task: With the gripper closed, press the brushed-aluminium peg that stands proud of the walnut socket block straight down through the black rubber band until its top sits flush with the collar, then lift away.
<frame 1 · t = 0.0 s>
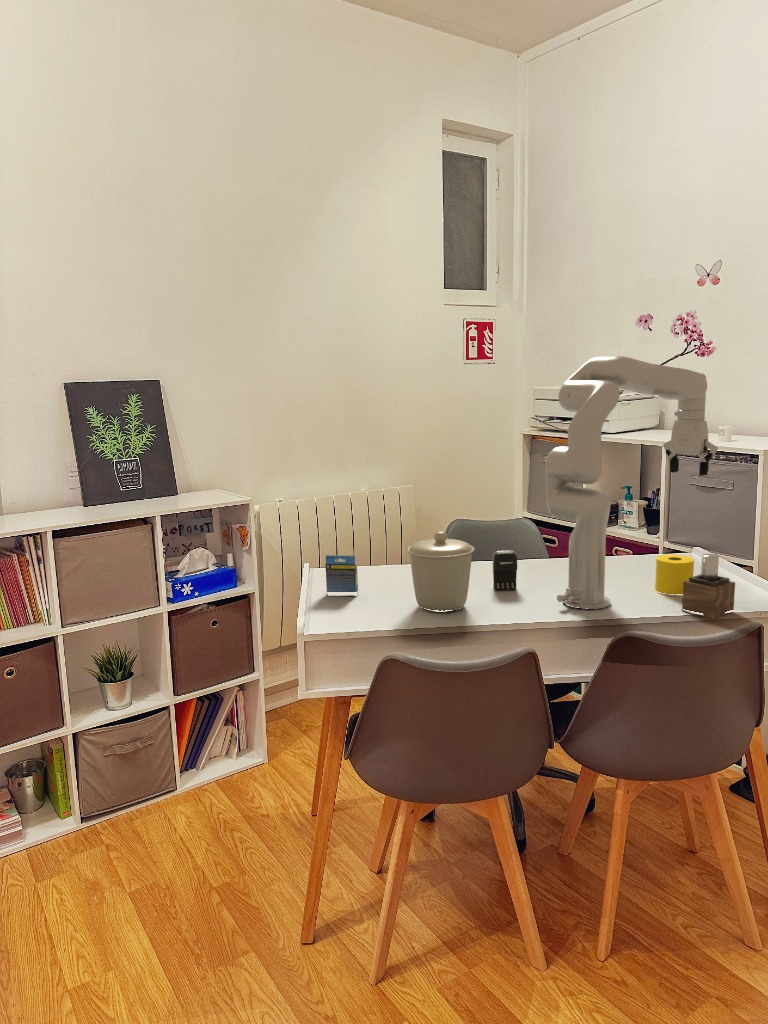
hand: (688, 473, 237), 31 cm above the table, tool pointing down, fingers open, 9 cm apart
battery charger: (505, 590, 232), on the table
peg: (709, 570, 205), point 11 cm above the table, slide at 0.0 cm
tape roll: (673, 591, 227), on the table
socket block: (707, 611, 207), on the table
canister: (441, 608, 217), on the table
label tape box: (342, 595, 232), on the table
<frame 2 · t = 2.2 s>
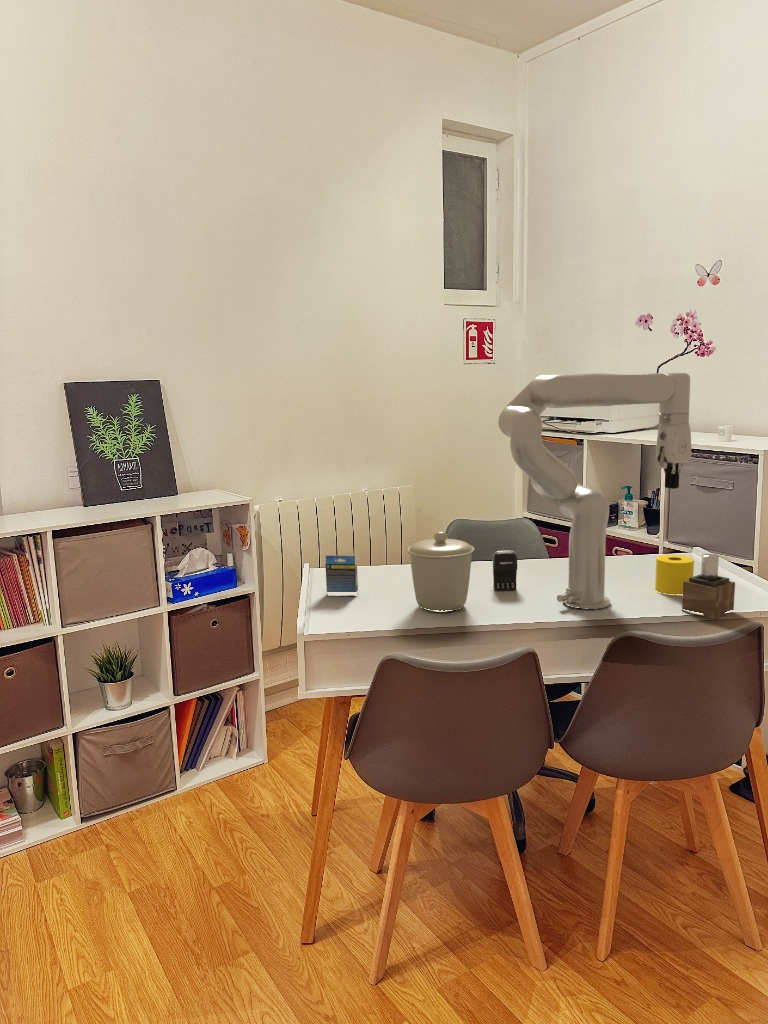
hand: (671, 487, 216), 31 cm above the table, tool pointing down, fingers closed
nothing on the table moved.
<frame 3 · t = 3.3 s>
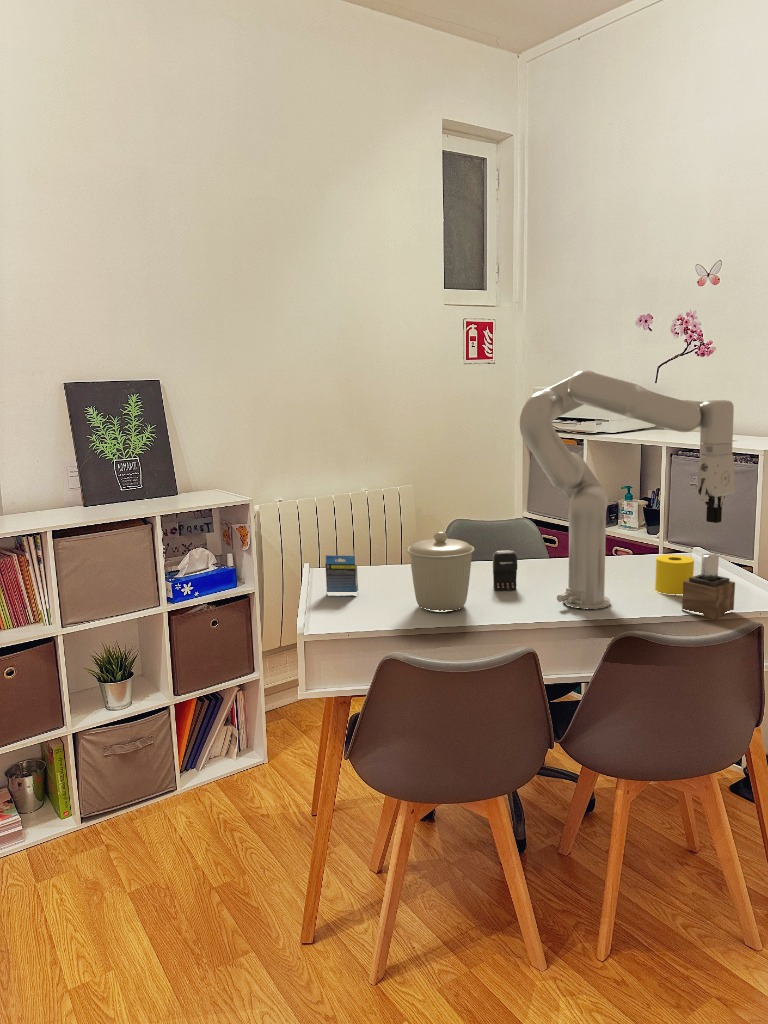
hand: (713, 521, 203), 24 cm above the table, tool pointing down, fingers closed
nothing on the table moved.
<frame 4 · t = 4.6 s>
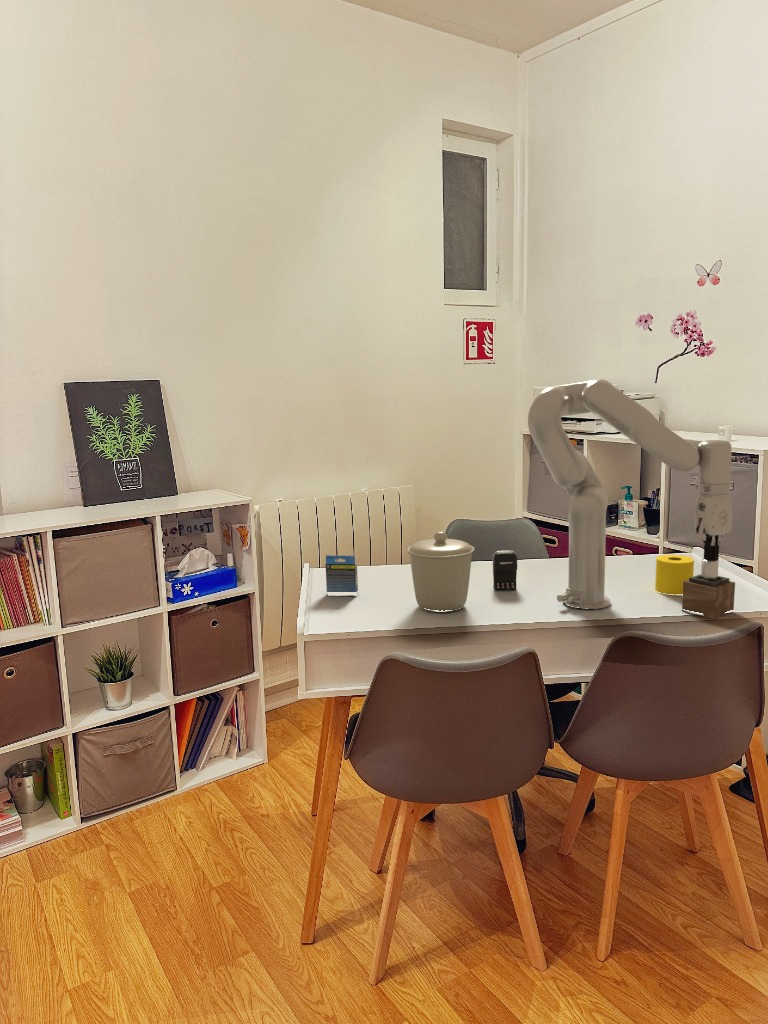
hand: (711, 559, 205), 14 cm above the table, tool pointing down, fingers closed
peg: (709, 574, 206), point 10 cm above the table, slide at 1.2 cm, touching gripper
everything else where it was.
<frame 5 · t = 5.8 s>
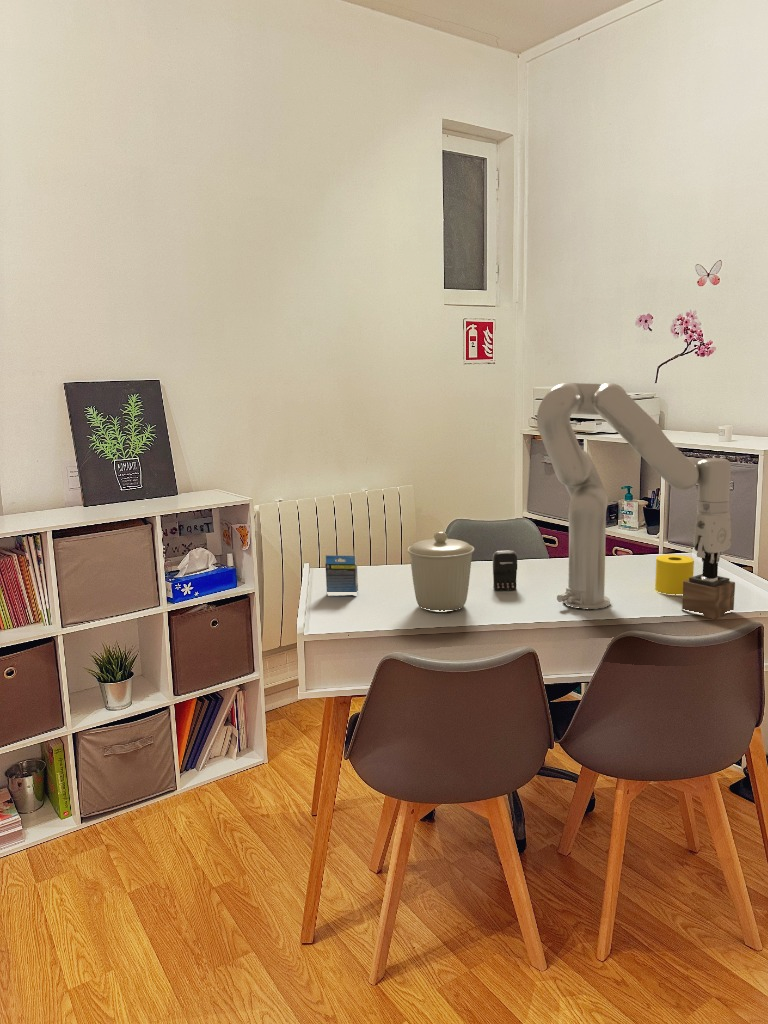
hand: (709, 576, 206), 9 cm above the table, tool pointing down, fingers closed
peg: (708, 591, 207), point 5 cm above the table, slide at 5.7 cm, touching gripper
everything else where it was.
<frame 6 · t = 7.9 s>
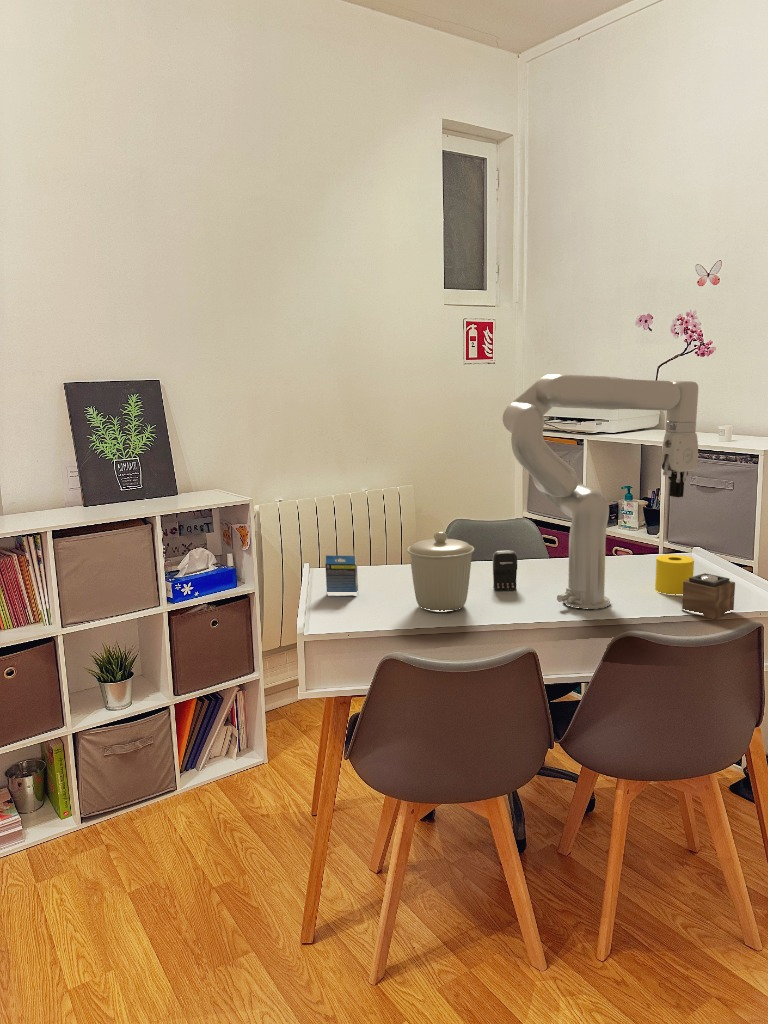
hand: (676, 496, 215), 28 cm above the table, tool pointing down, fingers closed
peg: (708, 592, 207), point 5 cm above the table, slide at 5.7 cm
everything else where it was.
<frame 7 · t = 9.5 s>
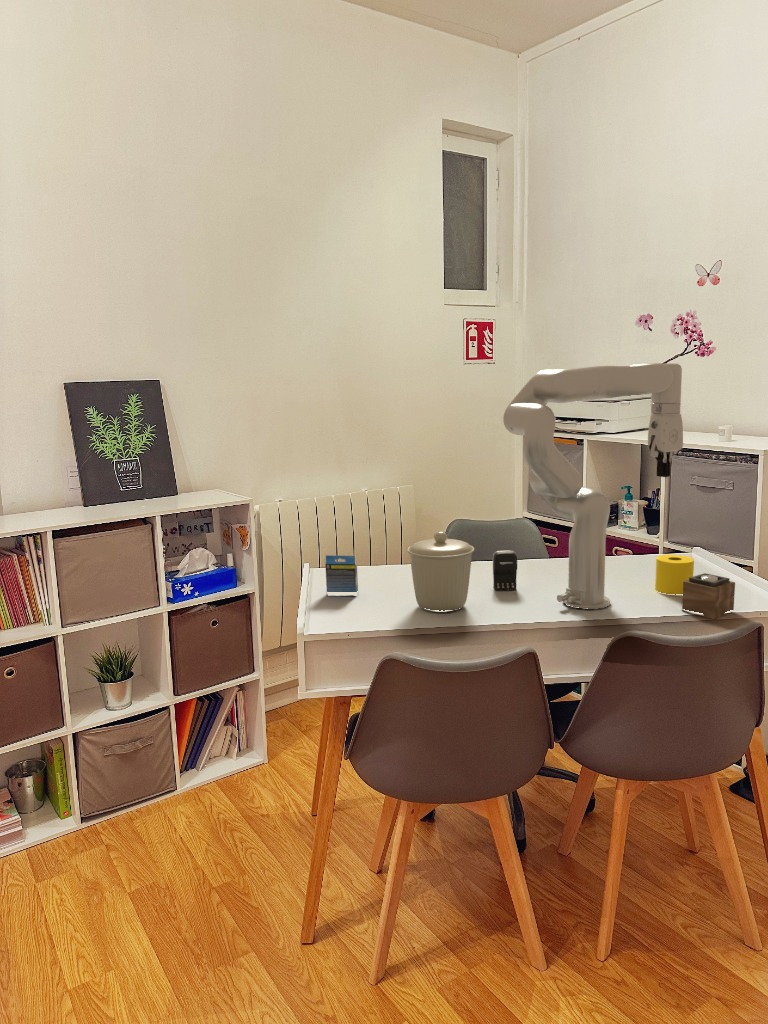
hand: (663, 476, 220), 33 cm above the table, tool pointing down, fingers closed
nothing on the table moved.
at the end: peg slide at 5.7 cm; the gripper is holding nothing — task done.
